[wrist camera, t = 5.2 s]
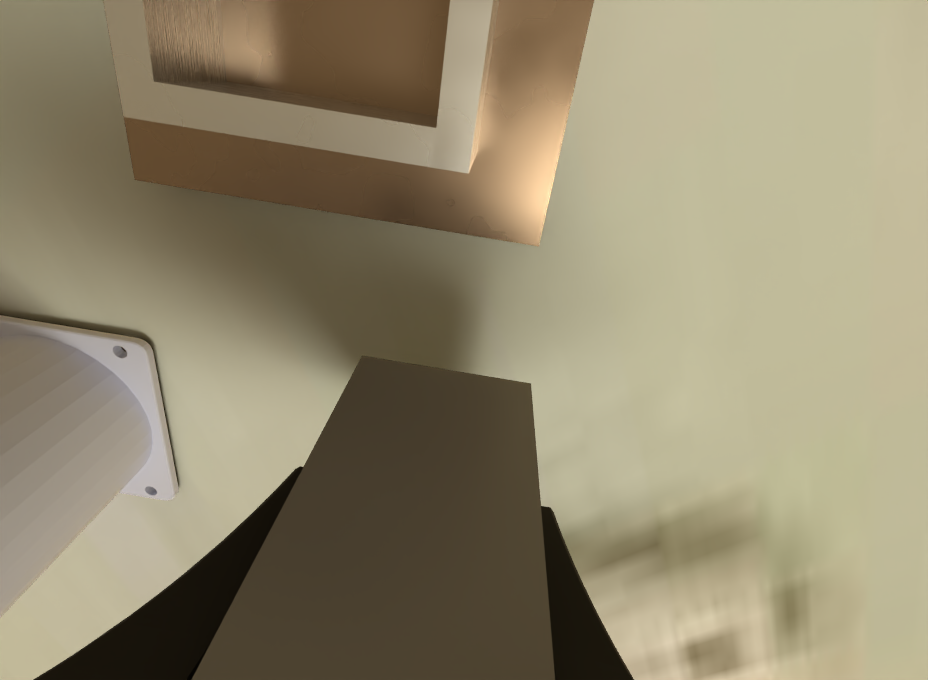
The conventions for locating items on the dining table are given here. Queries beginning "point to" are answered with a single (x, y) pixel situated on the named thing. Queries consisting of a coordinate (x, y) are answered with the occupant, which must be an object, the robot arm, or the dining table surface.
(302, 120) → the duct collar
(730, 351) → the dining table surface
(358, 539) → the block
